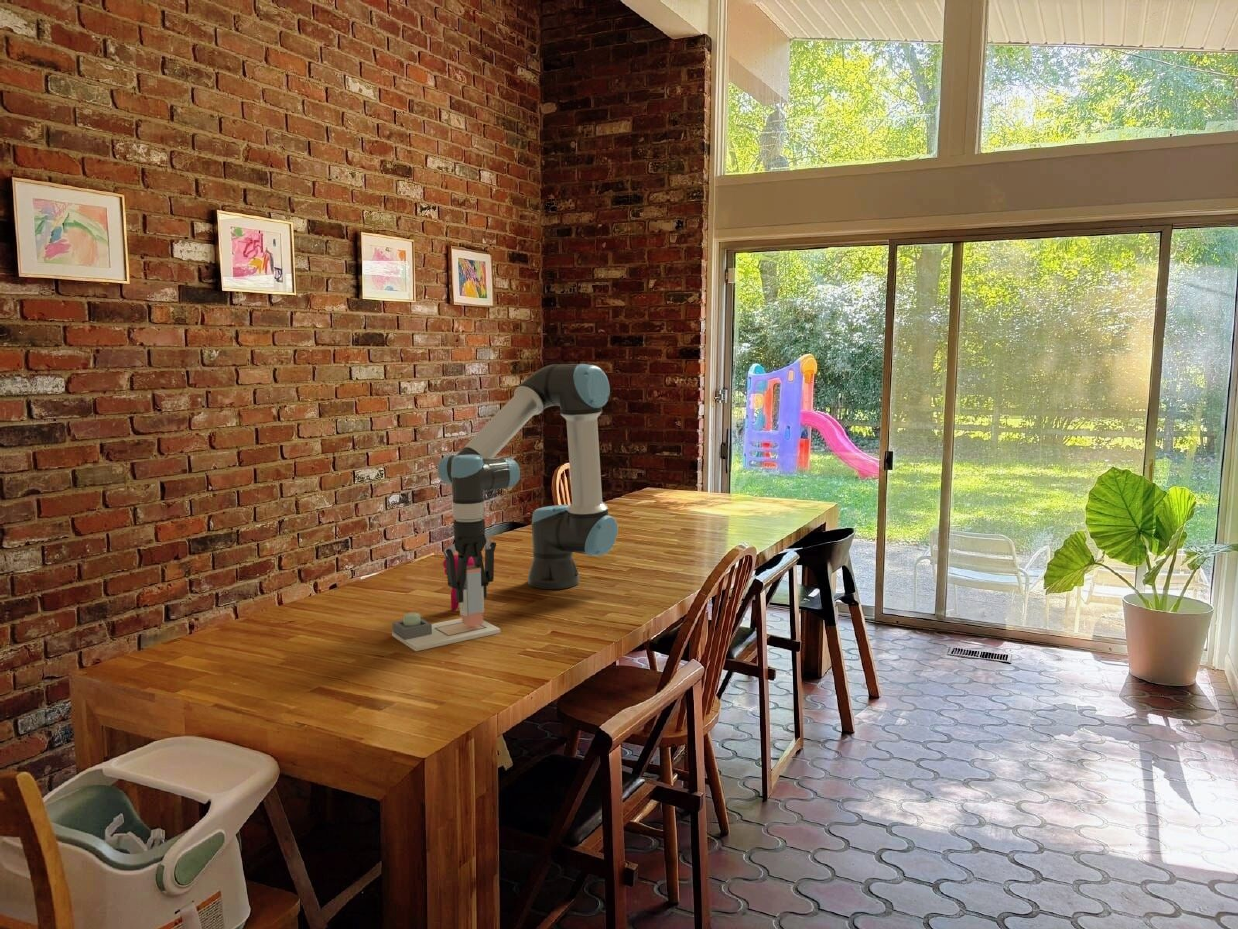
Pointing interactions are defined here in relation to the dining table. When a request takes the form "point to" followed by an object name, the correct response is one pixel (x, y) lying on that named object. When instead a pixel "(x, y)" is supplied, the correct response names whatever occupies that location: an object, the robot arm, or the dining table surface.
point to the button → (411, 620)
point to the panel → (440, 633)
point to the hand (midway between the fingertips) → (472, 612)
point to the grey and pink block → (473, 596)
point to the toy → (471, 562)
